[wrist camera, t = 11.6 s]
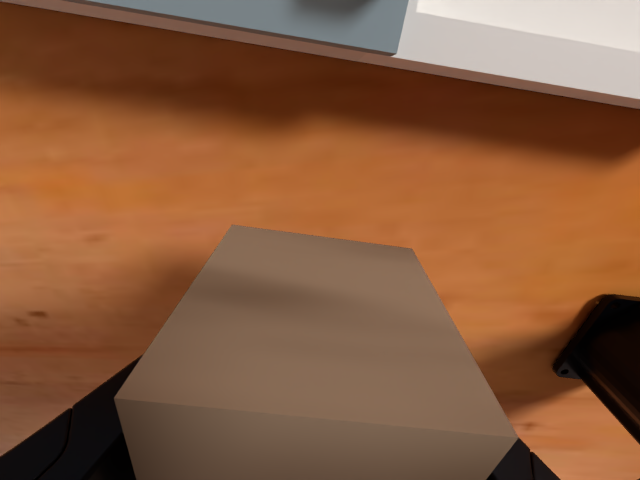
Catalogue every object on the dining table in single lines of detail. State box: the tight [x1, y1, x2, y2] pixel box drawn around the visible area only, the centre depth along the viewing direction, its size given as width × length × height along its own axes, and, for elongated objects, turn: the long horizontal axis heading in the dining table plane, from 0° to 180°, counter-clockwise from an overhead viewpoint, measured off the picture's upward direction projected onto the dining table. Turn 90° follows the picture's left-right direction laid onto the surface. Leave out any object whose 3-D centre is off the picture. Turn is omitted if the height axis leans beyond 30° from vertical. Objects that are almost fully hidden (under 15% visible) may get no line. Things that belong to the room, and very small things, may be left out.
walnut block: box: [114, 225, 518, 480], centre depth 7 cm, size 5×5×5 cm
